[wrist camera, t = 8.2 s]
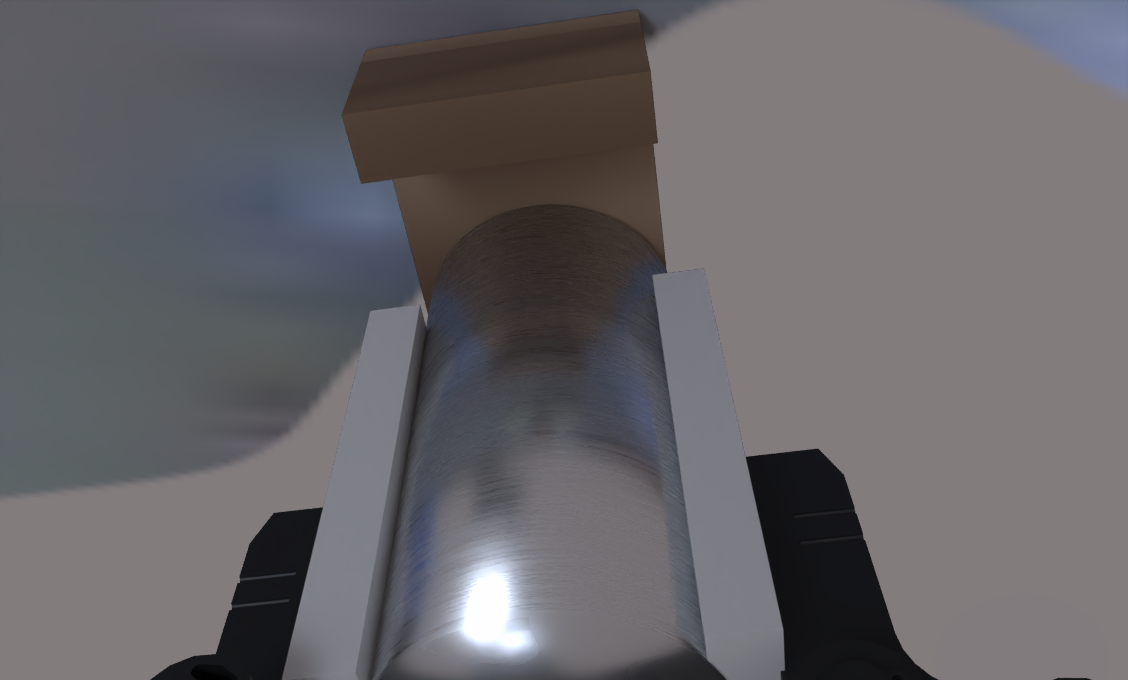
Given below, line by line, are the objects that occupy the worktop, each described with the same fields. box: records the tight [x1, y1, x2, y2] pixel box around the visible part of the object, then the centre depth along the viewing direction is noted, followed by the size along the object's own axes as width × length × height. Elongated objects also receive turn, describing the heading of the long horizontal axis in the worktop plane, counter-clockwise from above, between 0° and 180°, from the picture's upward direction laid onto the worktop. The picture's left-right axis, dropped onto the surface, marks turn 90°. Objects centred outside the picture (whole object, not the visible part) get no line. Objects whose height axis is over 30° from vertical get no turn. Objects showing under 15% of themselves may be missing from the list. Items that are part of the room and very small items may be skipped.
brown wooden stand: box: [342, 10, 666, 314], centre depth 17 cm, size 12×9×5 cm
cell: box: [370, 204, 726, 680], centre depth 14 cm, size 4×4×9 cm
